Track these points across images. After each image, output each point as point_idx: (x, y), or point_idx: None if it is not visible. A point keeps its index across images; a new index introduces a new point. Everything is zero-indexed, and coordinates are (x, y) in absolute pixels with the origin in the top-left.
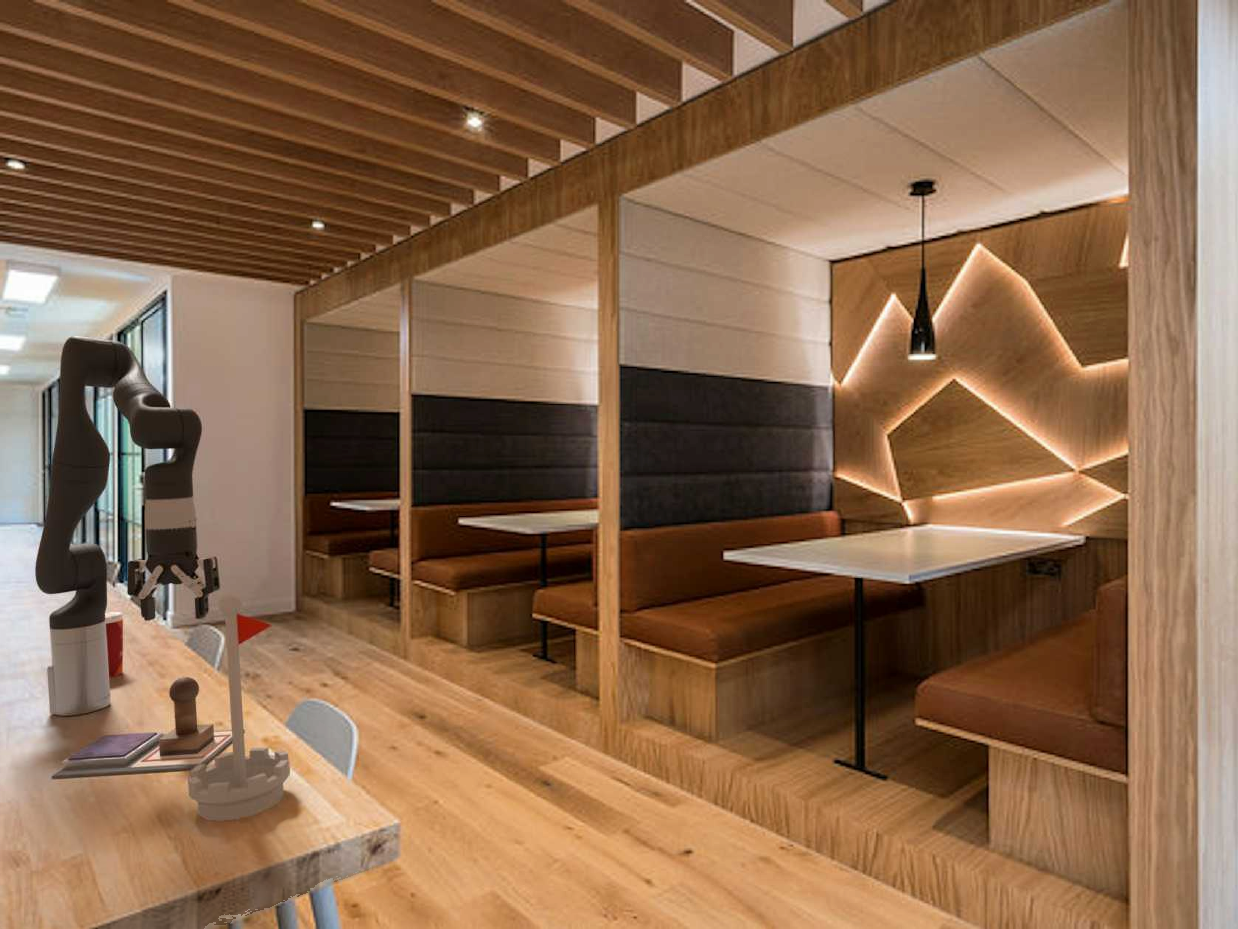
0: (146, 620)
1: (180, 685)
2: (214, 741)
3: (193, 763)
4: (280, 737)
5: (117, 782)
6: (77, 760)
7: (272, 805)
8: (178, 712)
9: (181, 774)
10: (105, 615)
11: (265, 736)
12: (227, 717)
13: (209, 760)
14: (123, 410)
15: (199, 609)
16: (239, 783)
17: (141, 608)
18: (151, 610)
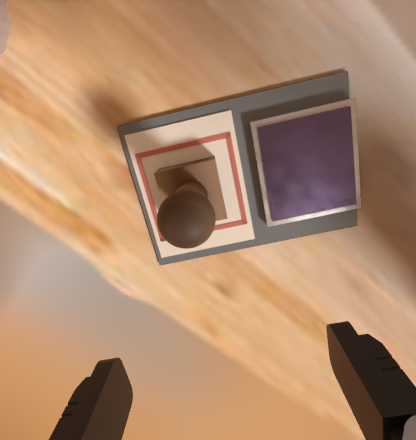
0: (339, 323)
1: (175, 204)
2: None
3: (134, 133)
4: (87, 247)
5: (218, 66)
6: (329, 104)
7: None
8: (188, 189)
9: (134, 105)
10: None
11: (113, 249)
12: (230, 311)
13: (126, 155)
14: None
15: (81, 395)
16: None
17: (398, 371)
18: (347, 378)
